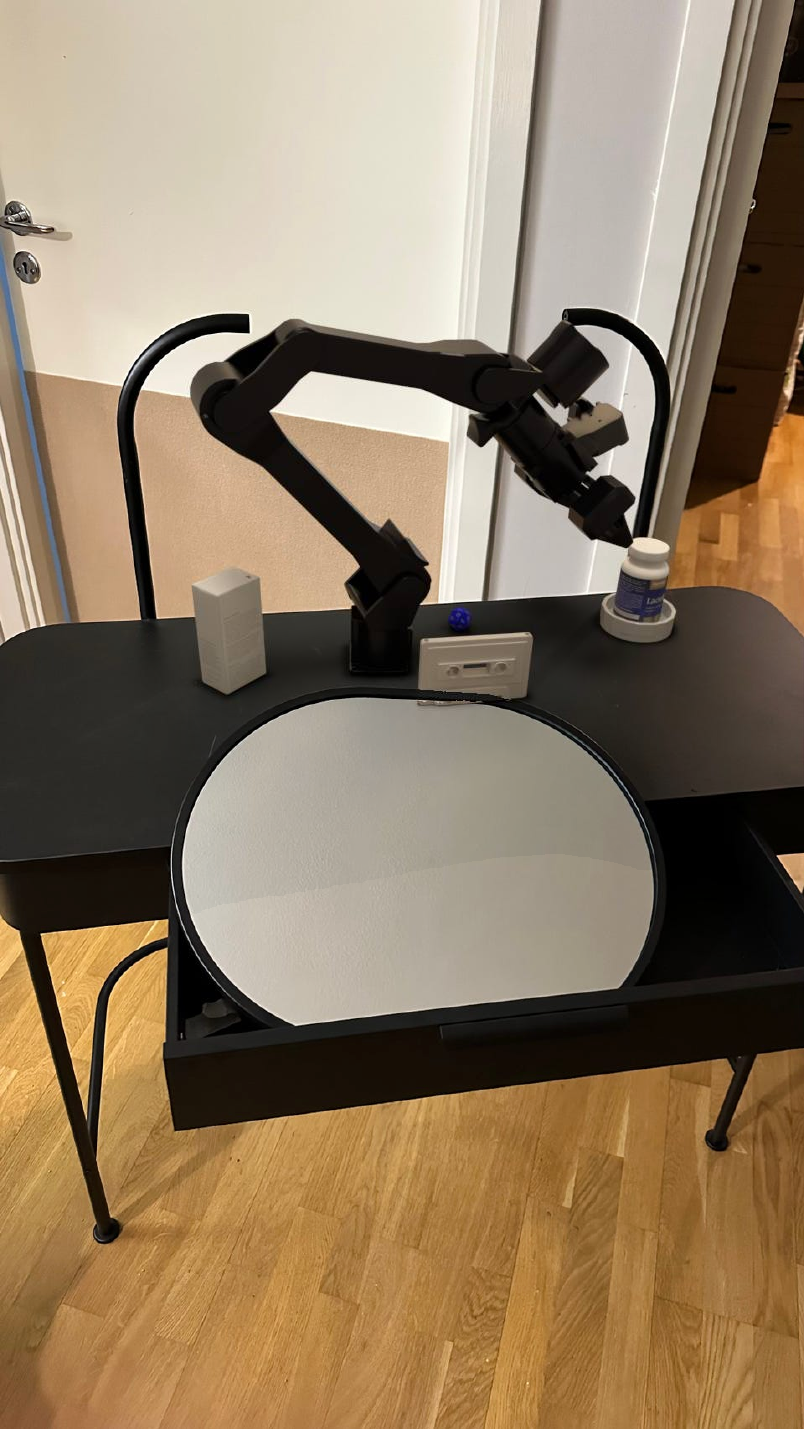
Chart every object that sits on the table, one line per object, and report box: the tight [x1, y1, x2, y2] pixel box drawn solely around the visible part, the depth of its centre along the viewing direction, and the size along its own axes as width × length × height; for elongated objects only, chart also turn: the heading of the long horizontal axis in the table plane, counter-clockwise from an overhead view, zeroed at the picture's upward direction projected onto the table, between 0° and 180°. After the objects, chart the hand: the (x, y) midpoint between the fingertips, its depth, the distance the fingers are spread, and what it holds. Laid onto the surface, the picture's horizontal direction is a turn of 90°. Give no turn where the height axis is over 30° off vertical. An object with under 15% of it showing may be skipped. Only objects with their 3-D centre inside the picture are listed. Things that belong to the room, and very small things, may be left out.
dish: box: [599, 592, 677, 644], centre depth 121 cm, size 9×9×2 cm
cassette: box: [417, 631, 534, 707], centre depth 104 cm, size 12×2×8 cm, turn 100°
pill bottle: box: [613, 537, 670, 623], centre depth 118 cm, size 6×6×10 cm
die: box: [447, 606, 473, 632], centre depth 119 cm, size 3×3×3 cm
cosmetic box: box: [191, 566, 267, 695], centre depth 105 cm, size 6×4×12 cm
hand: (610, 528), depth 112 cm, fingers open, 9 cm apart
